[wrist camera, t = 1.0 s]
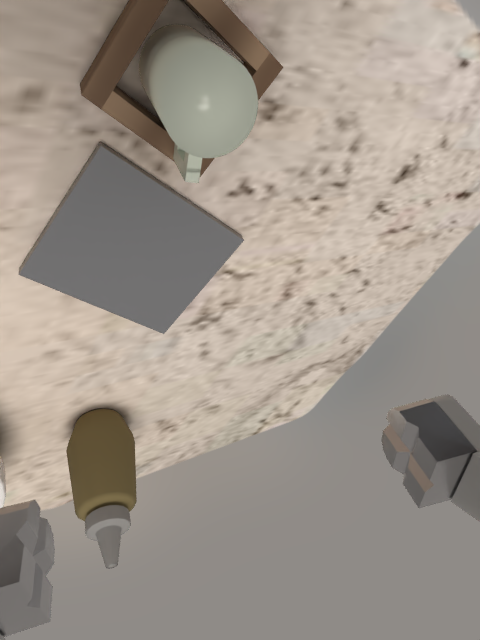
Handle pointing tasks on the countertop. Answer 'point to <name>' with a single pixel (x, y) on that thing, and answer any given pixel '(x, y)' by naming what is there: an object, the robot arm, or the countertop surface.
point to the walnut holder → (127, 41)
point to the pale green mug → (197, 95)
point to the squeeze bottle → (103, 478)
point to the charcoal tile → (129, 244)
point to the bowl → (2, 484)
